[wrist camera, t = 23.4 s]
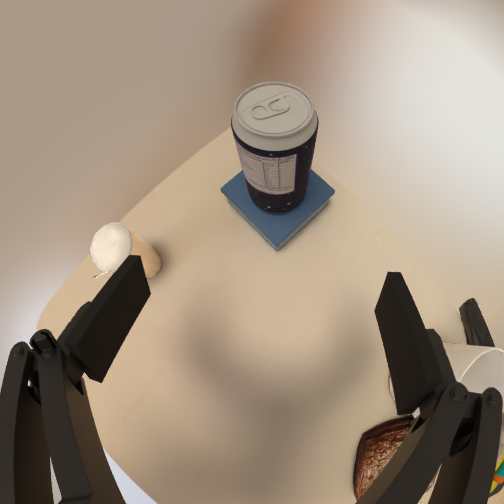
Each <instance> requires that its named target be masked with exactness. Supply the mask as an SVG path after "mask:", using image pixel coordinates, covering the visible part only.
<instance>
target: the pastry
mask: <svg viewBox="0 0 504 504" xmlns="http://www.w3.org/2000/svg"><path fill="white" fill-rule="evenodd" d="M414 419H415V418H414V416H410V417H406V418H401V419H397V420H393V421H389V422H386V423H384V424H381V425H379V426H377V427H375V428H373V429H371V430H369V431H367V432H365V433H364V434H363V436H362V438H361V440H360V442H359V445H358V449H357V455H356V461H355V466H354V475H353V483H354V494H355V497H356V500H357V501H358V500H359V499H360V498H361V497H362V495H363V494H364V493H365V492H366V491H367V489H368V488H369V487H370V486H371V485H372V483H373V482H374V481H375V480H376V478H377V477H378V476H379V474H380V473H381V472H382V470H383V469H384V468H385V466H386V465H387V464H388V462H389V461H390V459H391V458H392V457H393V455H394V454H395V452H396V451H397V449H398V448H399V446H400V445H401V443H402V442H403V440H404V438H405V437H406V435H407V434H408V432H409V430H410V429H411V427H412V425H413V424H414V423H413V424H412V425H410V423H411V422H412V421H413V420H414ZM439 468H440V467H439ZM438 471H439V469H438ZM438 471H437V473H438ZM437 473H436V474H435V476H434V478H433V480H432V481H431V483H430V485H429V486H428V488H427V490H426V491H425V492H427V491H428V490H429V488H431V487H432V485H433V484H434V480H435V478H436V476H437Z"/></svg>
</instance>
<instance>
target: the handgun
mask: <svg viewBox="0 0 504 504" xmlns="http://www.w3.org/2000/svg"><path fill="white" fill-rule="evenodd" d="M459 310H460V315H461V319H462V322H463V324H464V326H465V328H466V330H467V335H468V340H469V345H473V346H485V347H495V345H494V343H493V340H492V337H491V335H490V332H489V330H488V327H487V325H486V323H485V320H484V318H483V316H482V313H481V311H480V309H479V307H478V304H477V302H476V301H475V299H474V298H471V299H469V300H467V301H466V302H465V303H463V305H462V306H461V307H460V308H459Z"/></svg>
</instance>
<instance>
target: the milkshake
mask: <svg viewBox="0 0 504 504" xmlns="http://www.w3.org/2000/svg"><path fill="white" fill-rule="evenodd" d="M90 253H91V257H92V259H93V262H94V264H95V265H96V267H97V268H98V269H100V270H101V271H104V272H103V273H101V274H99V275H97V276H94V277H93V278H97V277H100V276H102V275H104V274H106V273H108V272H110V273H114V272H115V271H116V270H117V269H118V268H119V266H120V265H121V264H122V263H123V262H124V260H125V259H126V258H127V257H128V256H129V255H140V256H141V259H142V263H143V267H144V271H145V274H146V278H150V277H153V276H155V275H156V274H157V273H158V271H159V270H160V268H161V259H160V257H159V255H158V253H157V252H156V251H155V250H153V249H152V248H151V247H149V246H148V245H147V244H146V243H144V242H143V241H142V240H140V239H139V238H138V237H137V236H136V235H134V234H133V233H132V232H131V231H130V230H129V229H128V228H127V227H125V226H124V225H123V224H121V223H109V224H106V225H105V226H103V227H102V228H101V229H99V230H98V231H97V232H96V234H95V235H94V237H93V240H92V244H91V247H90Z"/></svg>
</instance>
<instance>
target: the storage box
mask: <svg viewBox="0 0 504 504" xmlns="http://www.w3.org/2000/svg"><path fill="white" fill-rule="evenodd" d="M220 190H221V192H222V193H223V194H224V195H225V196H226V197H227V199H228V201H229V203H230V204H231V205H232V206H233V207H234V208H235V209H236V210H237V211H238V212H239V213H240V214H241V215H242V216H243V217H244V218H245V219H246V220H247V221H248V222H249V223H250V224H251V225H252V226H253V227H254V228H255V229H256V230H257V231H258V232H259V233H260V234H261V235H262V236H263V238H264V239H265V240H266V241H267V242H268V243H269V244H270V245H271V246H272V247H273V248H274V249H275V250H276V251H278V250H279V249H280V248H281V247H282V246H283V245H284V244H285V243H286V242H287V241H288V240H290V239H291V238H292V237H293V236H294V235H295V234H296V233H297V232H298V231H299V230H300V229H301V228H302V227H304V226H305V225H306V224H307V223H308V222H309V221H310V220H311V219H312V218H313V217H314V216H315V215H316V214H317V213H319V212H320V211H321V210H322V209H323V208H324V207H325V206H326V205H327V204H328V201H329V198H330V197H331V196H332V195H333V194H334V193H335V190H334V189H333V188H332V187H330V186H329V185H328V184H327V183H326V182H325V181H324V180H323V179H322V178H320V177H319V176H318V175H317V174H316V173H315V172H314V171H312V170H310V176H309V181H308V186H307V192H306V195H305V197H304V199H303V200H302V202H301V203H300V204H299V205H298V206H297V207H295V208H293V209H292V210H289V211H286V212H280V213H275V212H269V211H266V210H264V209H262V208H260V207H258V206H257V205H256V204H255V203H254V202H253V201H252V199H251V197H250V195H249V192H248V188H247V185H246V181H245V177H244V173H243V170H242V171H241V172H240V173H239V174H237V175H236V176H235V177H234V178H233V179H231V180H230V181H229V182H228V183H227V184H225V185H224V186H223V187H222V188H221V189H220Z"/></svg>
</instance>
